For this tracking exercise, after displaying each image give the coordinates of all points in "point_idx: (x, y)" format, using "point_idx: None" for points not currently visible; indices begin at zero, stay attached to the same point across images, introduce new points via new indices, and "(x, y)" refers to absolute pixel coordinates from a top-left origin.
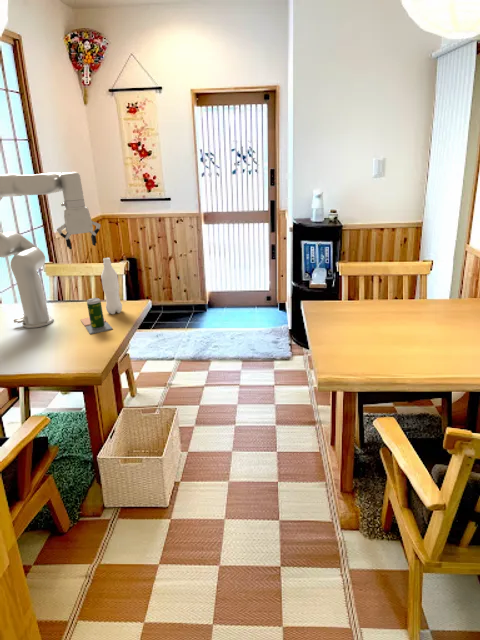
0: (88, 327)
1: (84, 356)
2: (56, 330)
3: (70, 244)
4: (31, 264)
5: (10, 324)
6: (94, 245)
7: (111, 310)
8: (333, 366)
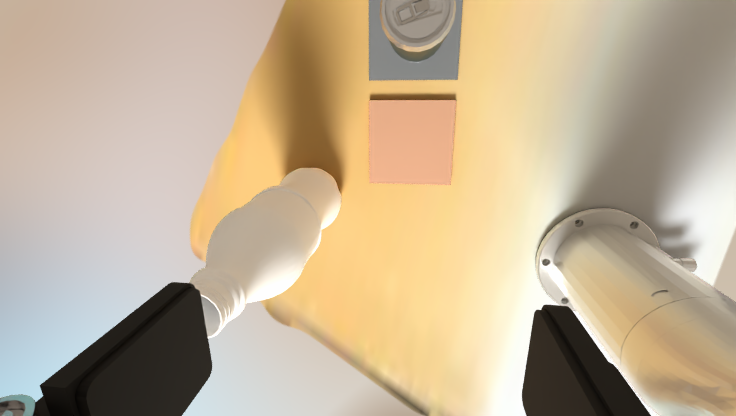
0: (450, 59)
1: None
2: (562, 128)
3: (577, 351)
4: None
5: None
6: (191, 286)
7: (327, 173)
8: None
